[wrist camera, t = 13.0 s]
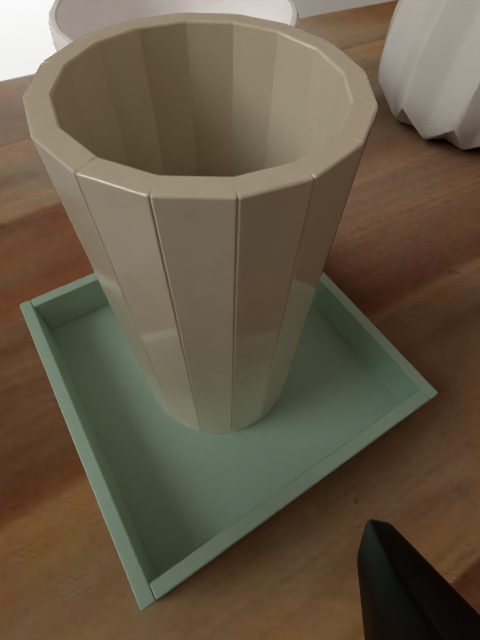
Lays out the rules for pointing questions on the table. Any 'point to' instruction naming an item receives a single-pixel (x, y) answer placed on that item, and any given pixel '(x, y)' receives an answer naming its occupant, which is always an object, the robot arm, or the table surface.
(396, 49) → the vase
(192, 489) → the serving tray
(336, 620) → the table surface
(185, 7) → the bowl
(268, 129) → the rice cup
